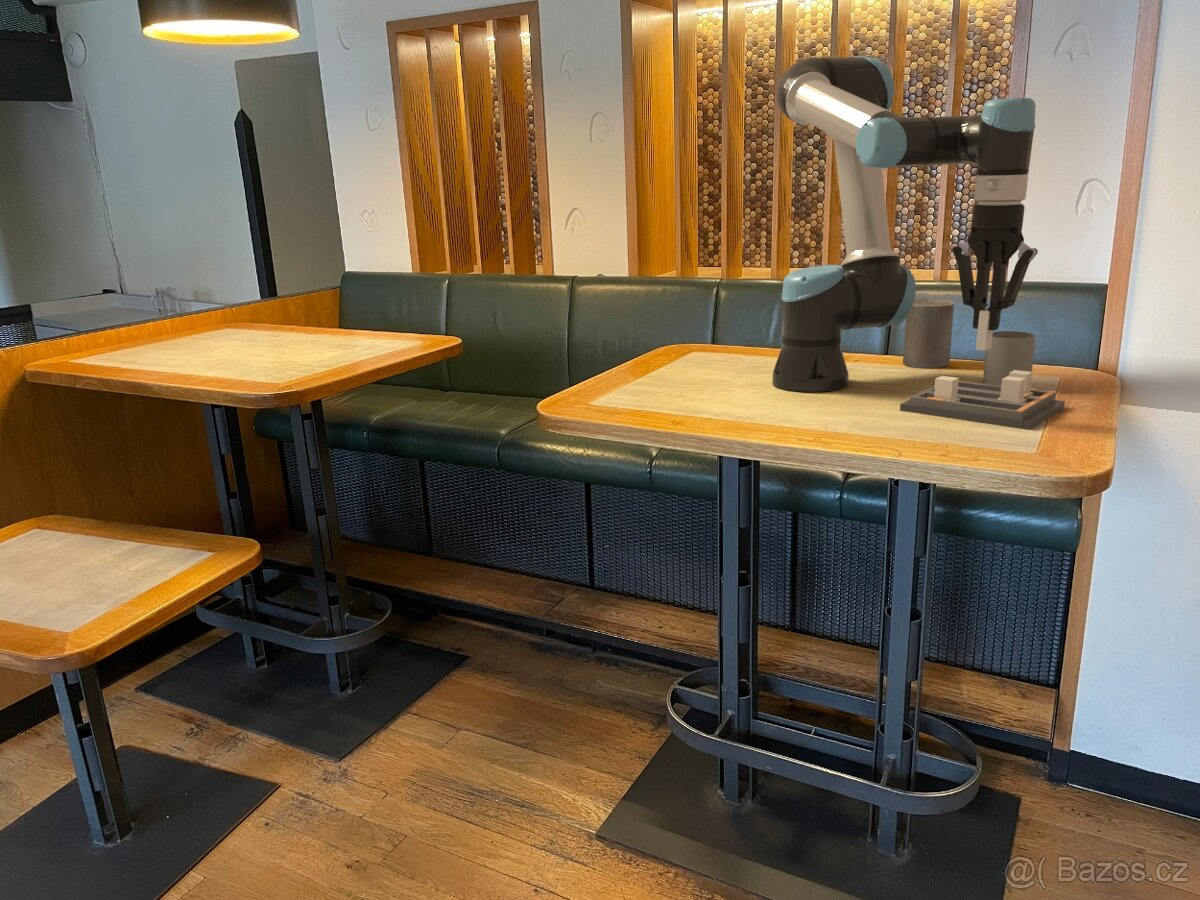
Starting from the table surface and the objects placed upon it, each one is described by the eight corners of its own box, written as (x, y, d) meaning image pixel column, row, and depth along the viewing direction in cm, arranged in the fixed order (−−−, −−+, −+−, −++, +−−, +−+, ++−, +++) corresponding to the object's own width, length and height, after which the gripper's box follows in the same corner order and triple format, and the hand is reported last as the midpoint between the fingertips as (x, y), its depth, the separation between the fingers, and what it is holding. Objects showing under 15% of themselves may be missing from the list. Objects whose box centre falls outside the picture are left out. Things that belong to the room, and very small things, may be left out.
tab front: (930, 405, 152) (932, 378, 150) (937, 401, 154) (939, 375, 152) (953, 408, 149) (955, 381, 148) (959, 405, 151) (961, 378, 150)
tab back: (1003, 398, 154) (1005, 372, 152) (1009, 395, 155) (1011, 369, 154) (1027, 401, 151) (1029, 375, 149) (1032, 398, 153) (1035, 372, 151)
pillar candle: (899, 360, 195) (902, 293, 191) (944, 359, 194) (949, 292, 189) (907, 369, 186) (911, 300, 182) (955, 368, 185) (960, 298, 180)
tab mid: (996, 405, 149) (998, 378, 148) (1002, 402, 151) (1004, 375, 150) (1020, 409, 147) (1023, 381, 145) (1026, 405, 149) (1029, 378, 147)
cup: (1034, 390, 163) (1040, 338, 161) (988, 390, 165) (993, 338, 162) (1023, 380, 171) (1028, 330, 168) (979, 380, 173) (983, 331, 170)
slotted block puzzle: (899, 410, 154) (900, 395, 154) (940, 391, 166) (941, 377, 165) (1029, 429, 140) (1031, 412, 139) (1064, 407, 151) (1066, 392, 150)
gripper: (948, 204, 139) (935, 348, 147) (1033, 204, 130) (1015, 357, 138) (967, 201, 144) (954, 340, 152) (1050, 201, 135) (1032, 349, 143)
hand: (983, 348), depth 145 cm, fingers closed
